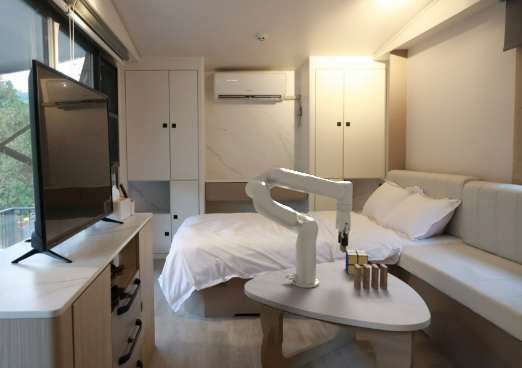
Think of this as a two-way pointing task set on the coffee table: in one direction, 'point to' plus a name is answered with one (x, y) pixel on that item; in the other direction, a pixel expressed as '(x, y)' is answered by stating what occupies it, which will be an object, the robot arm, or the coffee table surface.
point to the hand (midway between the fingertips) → (343, 244)
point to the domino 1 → (342, 248)
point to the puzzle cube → (355, 260)
